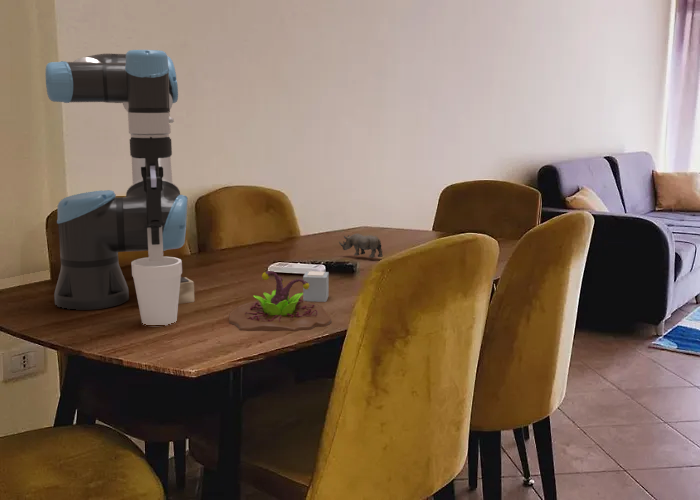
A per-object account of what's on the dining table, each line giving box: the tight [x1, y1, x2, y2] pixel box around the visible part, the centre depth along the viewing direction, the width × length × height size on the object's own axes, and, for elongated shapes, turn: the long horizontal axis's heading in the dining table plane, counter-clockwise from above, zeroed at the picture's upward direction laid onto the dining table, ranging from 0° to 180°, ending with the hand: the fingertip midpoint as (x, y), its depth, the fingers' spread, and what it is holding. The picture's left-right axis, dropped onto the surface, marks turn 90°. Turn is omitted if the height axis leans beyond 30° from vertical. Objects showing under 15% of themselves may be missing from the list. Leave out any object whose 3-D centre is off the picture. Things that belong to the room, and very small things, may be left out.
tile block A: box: [178, 276, 195, 305], centre depth 165 cm, size 5×5×5 cm
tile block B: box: [302, 270, 330, 303], centre depth 167 cm, size 5×5×6 cm
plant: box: [228, 270, 332, 332], centre depth 151 cm, size 20×20×11 cm
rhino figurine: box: [338, 233, 384, 259], centre depth 215 cm, size 4×14×6 cm, turn 59°
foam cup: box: [131, 256, 183, 326], centre depth 147 cm, size 10×9×13 cm
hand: (156, 260), depth 146 cm, fingers closed
